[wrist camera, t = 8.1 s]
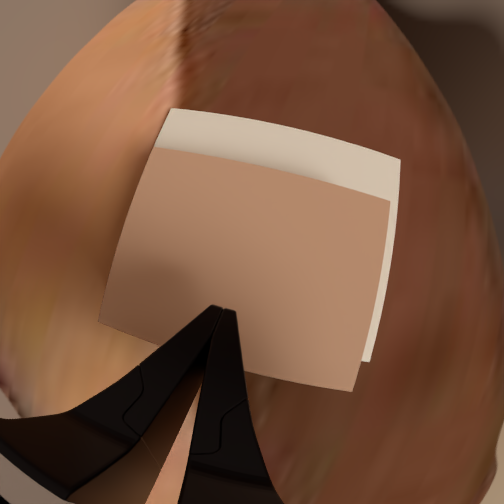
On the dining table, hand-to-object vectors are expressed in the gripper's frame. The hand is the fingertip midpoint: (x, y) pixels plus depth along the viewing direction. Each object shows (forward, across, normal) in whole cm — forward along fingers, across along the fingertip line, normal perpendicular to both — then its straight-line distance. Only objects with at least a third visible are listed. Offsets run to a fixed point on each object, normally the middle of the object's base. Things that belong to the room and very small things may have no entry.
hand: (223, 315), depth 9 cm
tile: (+2, 0, +5) cm, 5 cm away
